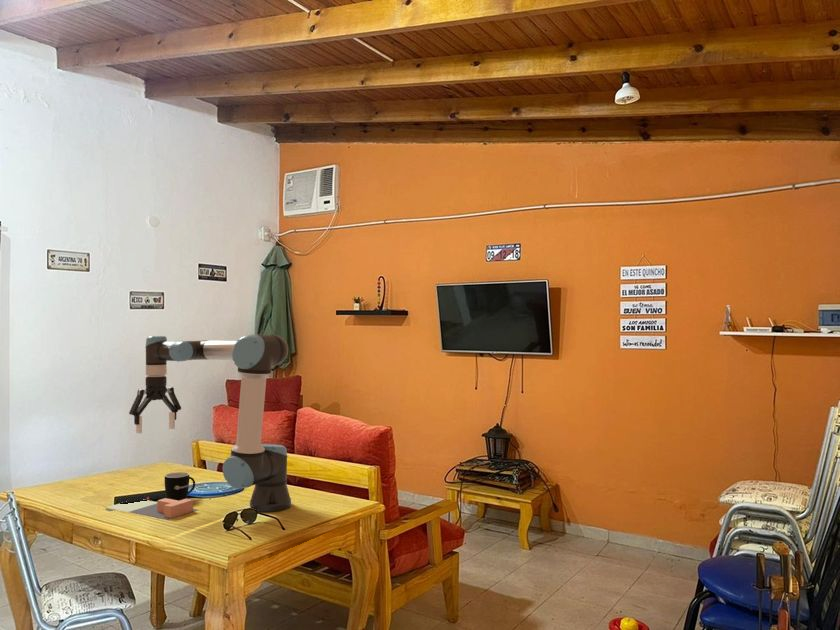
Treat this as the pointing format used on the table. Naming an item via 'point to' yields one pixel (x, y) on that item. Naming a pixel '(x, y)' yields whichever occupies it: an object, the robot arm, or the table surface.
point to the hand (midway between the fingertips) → (155, 430)
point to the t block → (174, 507)
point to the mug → (177, 485)
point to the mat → (142, 509)
